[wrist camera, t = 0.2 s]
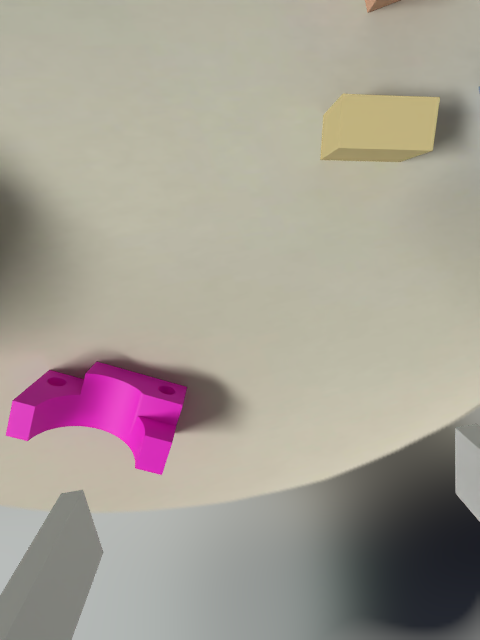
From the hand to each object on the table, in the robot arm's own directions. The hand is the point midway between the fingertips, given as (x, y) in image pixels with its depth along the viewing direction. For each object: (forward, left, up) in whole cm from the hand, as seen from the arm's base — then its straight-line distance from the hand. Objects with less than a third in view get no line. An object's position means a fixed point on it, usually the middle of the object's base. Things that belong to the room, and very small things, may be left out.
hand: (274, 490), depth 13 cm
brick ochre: (-12, +17, -28) cm, 35 cm away
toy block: (+4, -16, -28) cm, 33 cm away
